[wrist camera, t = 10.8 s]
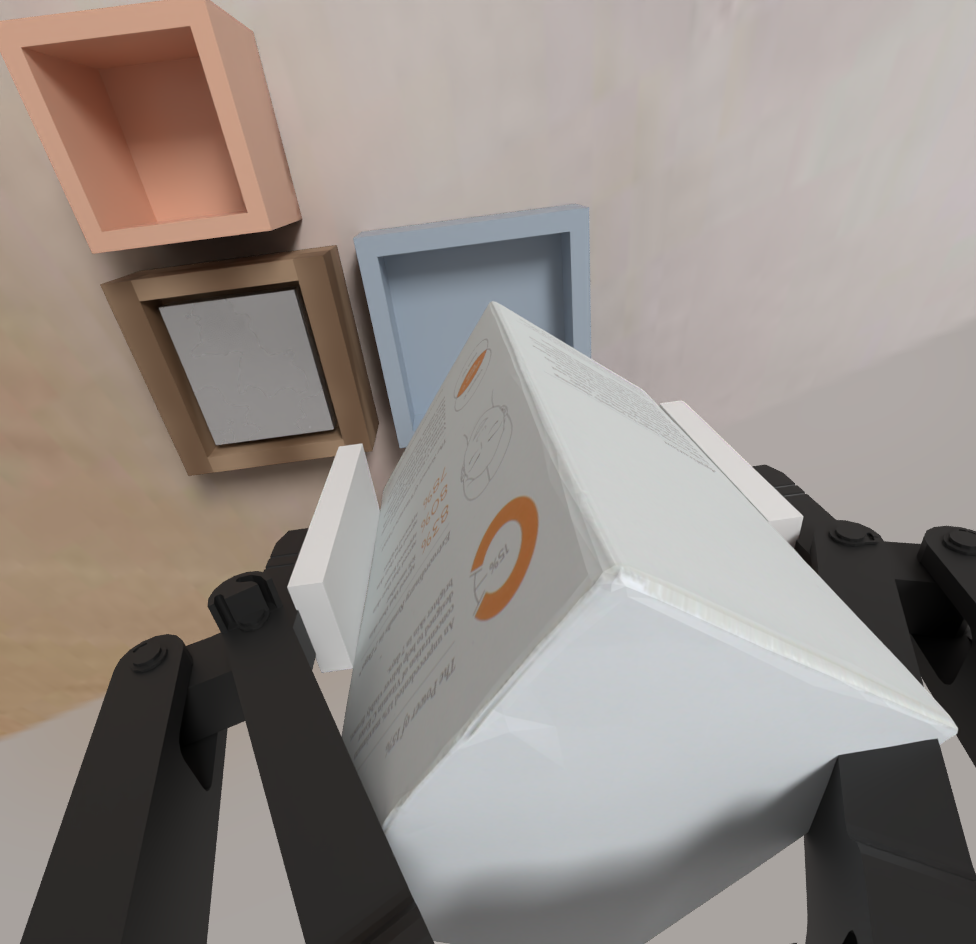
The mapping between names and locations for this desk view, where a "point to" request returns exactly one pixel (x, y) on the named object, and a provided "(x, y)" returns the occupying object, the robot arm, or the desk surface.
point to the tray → (469, 292)
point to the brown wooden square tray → (305, 268)
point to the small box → (593, 661)
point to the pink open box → (154, 121)
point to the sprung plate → (252, 364)
